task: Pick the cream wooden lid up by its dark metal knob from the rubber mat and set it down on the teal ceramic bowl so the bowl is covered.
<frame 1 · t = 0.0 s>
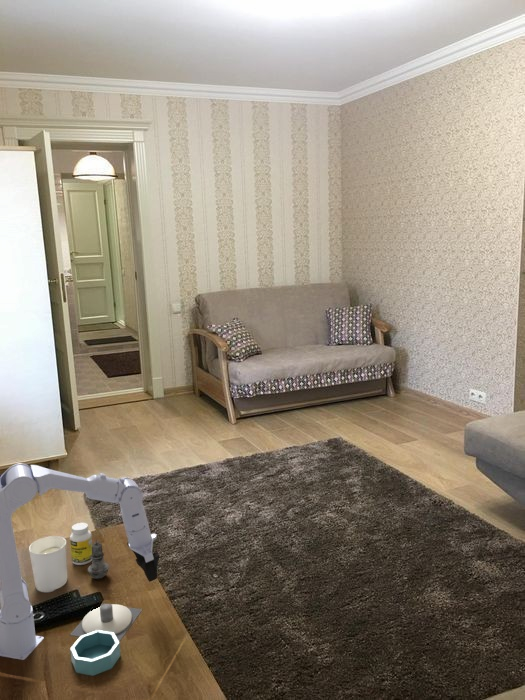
hand: (148, 572, 153), 11 cm above the table, tool pointing down, fingers open, 7 cm apart
pill bottle: (82, 560, 179), on the table
bowl: (96, 660, 136), on the table
salt shaker: (99, 579, 169), on the table
mat: (107, 623, 149), on the table
candle holder: (51, 584, 167), on the table
lid: (107, 621, 149), point 1 cm above the table, touching mat
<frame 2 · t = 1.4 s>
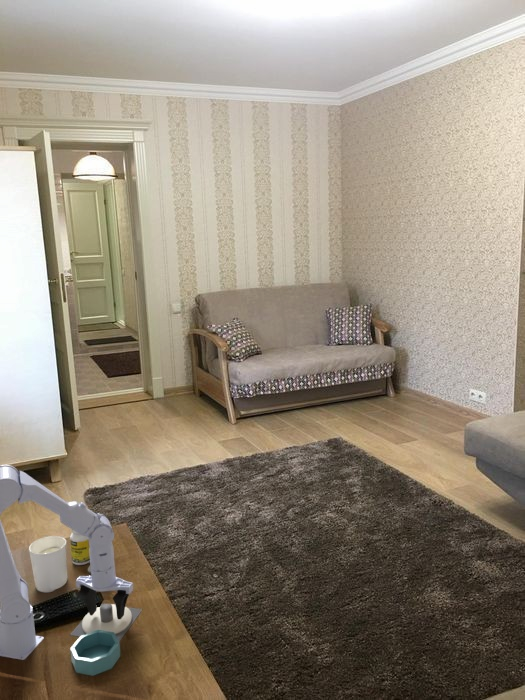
hand: (106, 614, 149), 2 cm above the table, tool pointing down, fingers open, 7 cm apart
nothing on the table moved.
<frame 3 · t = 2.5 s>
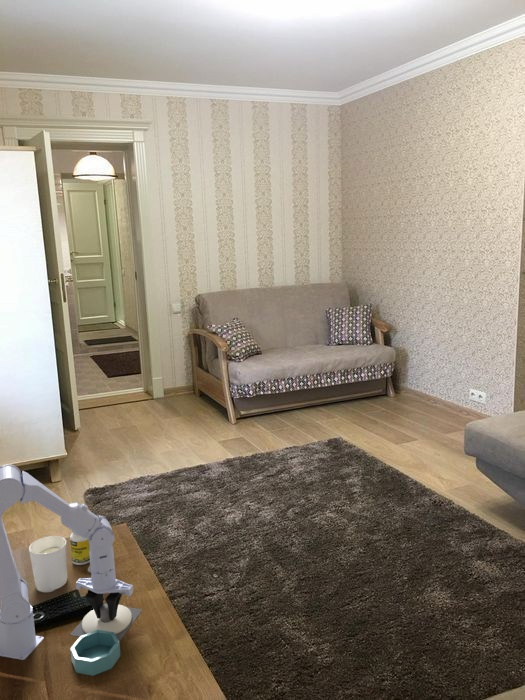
hand: (106, 617, 149), 2 cm above the table, tool pointing down, fingers closed on lid, 3 cm apart
lid: (107, 621, 149), point 1 cm above the table, touching gripper, mat
everything else where it was.
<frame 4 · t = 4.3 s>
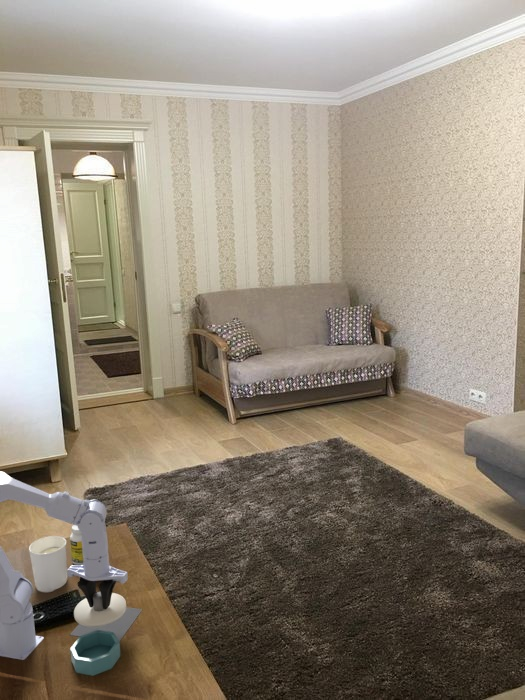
hand: (100, 605, 142), 9 cm above the table, tool pointing down, fingers closed on lid, 3 cm apart
lid: (100, 610, 142), point 8 cm above the table, touching gripper
everything else where it was.
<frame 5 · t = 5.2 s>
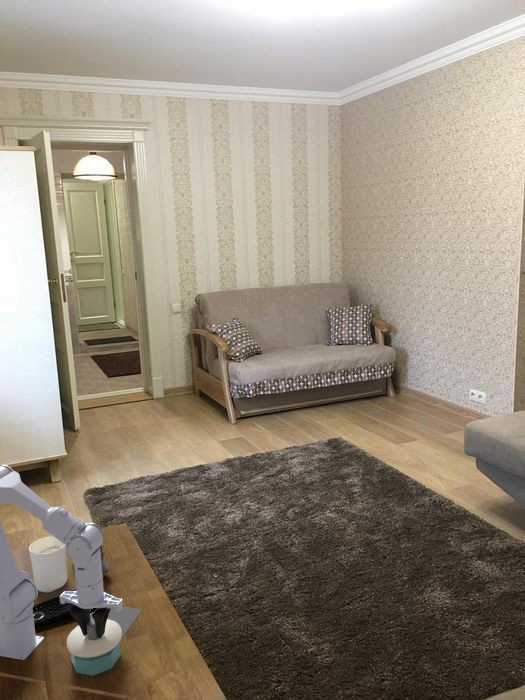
hand: (94, 634, 135), 7 cm above the table, tool pointing down, fingers closed on lid, 3 cm apart
lid: (94, 639, 136), point 5 cm above the table, touching gripper
everything else where it was.
when the fingers open (7 cm above the table, at t = 5.8 s): lid drops 1 cm, resting on bowl.
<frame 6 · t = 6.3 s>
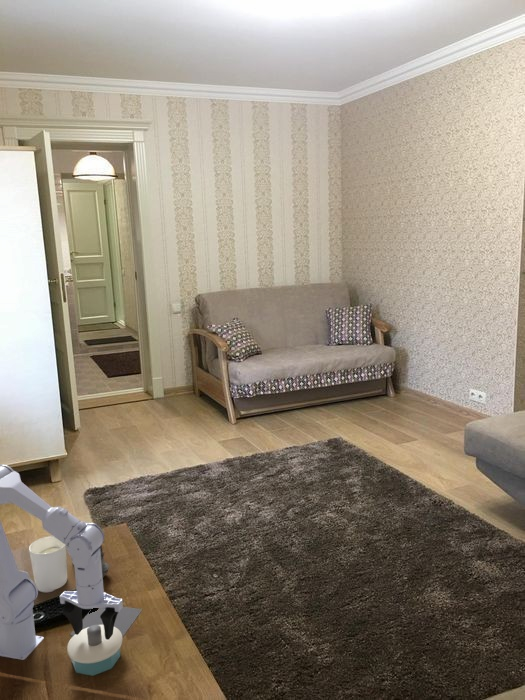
hand: (94, 634, 135), 7 cm above the table, tool pointing down, fingers open, 7 cm apart
bowl: (96, 660, 136), on the table, touching lid
lid: (95, 644, 136), point 4 cm above the table, touching bowl
everything else where it was.
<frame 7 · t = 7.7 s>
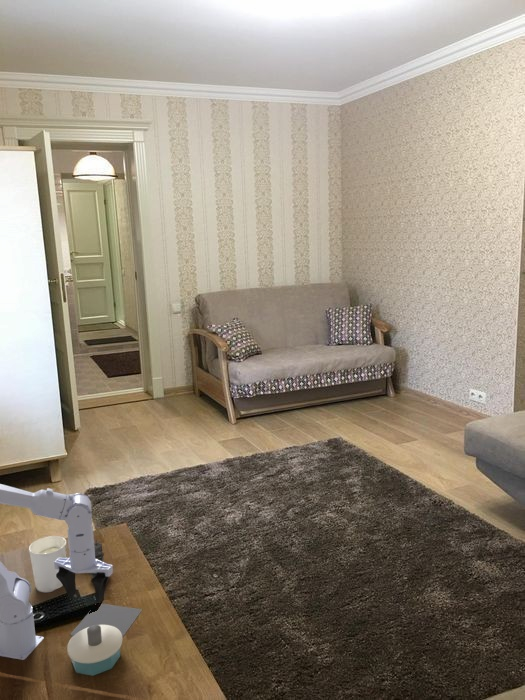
hand: (86, 598, 143), 10 cm above the table, tool pointing down, fingers open, 7 cm apart
nothing on the table moved.
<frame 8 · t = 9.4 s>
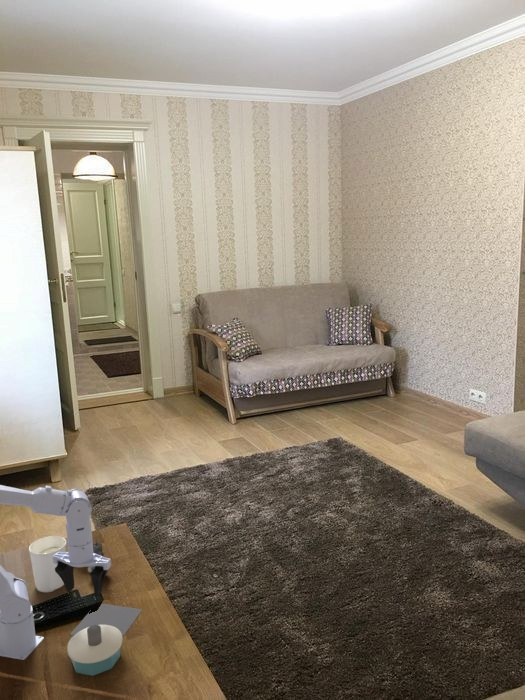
hand: (84, 591, 146), 10 cm above the table, tool pointing down, fingers open, 7 cm apart
nothing on the table moved.
at the end: lid 0.1 cm off-centre on the bowl, point 4.0 cm above the bowl's base; lid tilted 0°; the gripper is holding nothing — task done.
